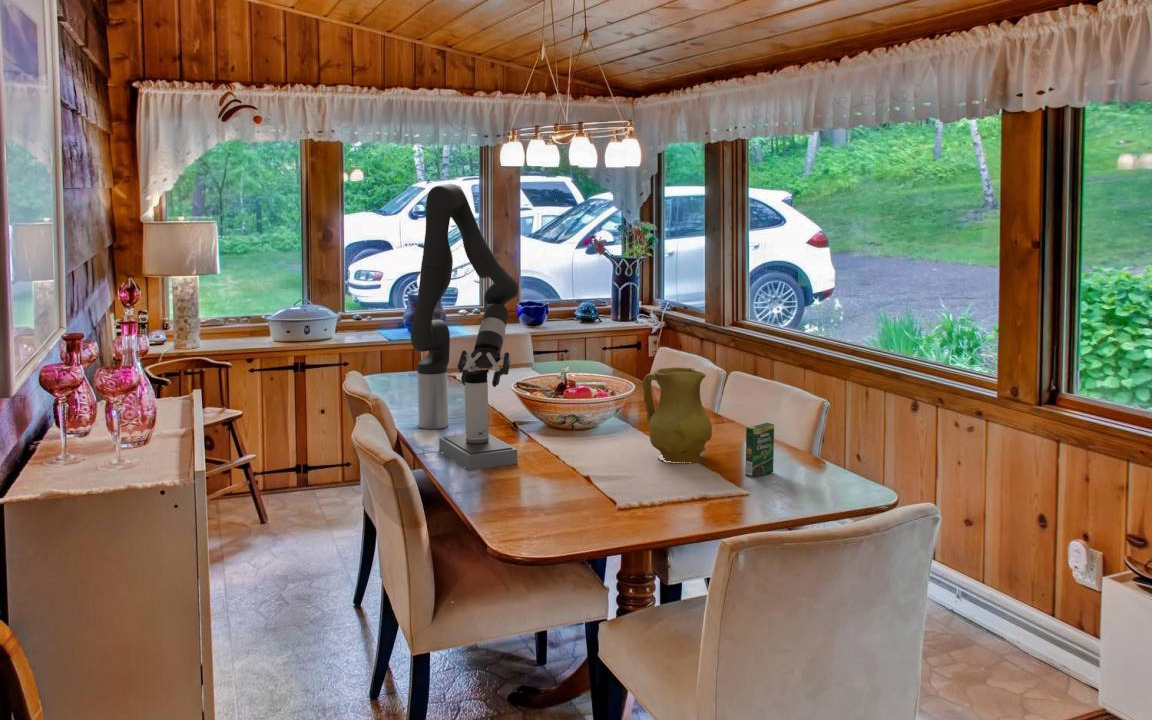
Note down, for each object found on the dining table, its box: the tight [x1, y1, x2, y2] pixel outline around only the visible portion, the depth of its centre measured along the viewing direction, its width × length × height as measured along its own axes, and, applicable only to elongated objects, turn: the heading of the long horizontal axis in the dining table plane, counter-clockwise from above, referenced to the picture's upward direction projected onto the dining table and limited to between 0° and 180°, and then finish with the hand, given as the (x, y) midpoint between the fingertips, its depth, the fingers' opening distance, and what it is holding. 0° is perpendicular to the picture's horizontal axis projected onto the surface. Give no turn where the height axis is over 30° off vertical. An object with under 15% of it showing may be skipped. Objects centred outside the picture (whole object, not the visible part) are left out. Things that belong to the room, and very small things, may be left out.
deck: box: [438, 433, 518, 472], centre depth 272 cm, size 22×14×4 cm, turn 28°
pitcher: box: [642, 366, 713, 464], centre depth 271 cm, size 17×19×25 cm
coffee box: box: [744, 422, 775, 479], centre depth 255 cm, size 8×3×13 cm, turn 126°
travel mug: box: [464, 369, 490, 444], centre depth 271 cm, size 6×7×20 cm
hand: (479, 384), depth 272 cm, fingers open, 8 cm apart
